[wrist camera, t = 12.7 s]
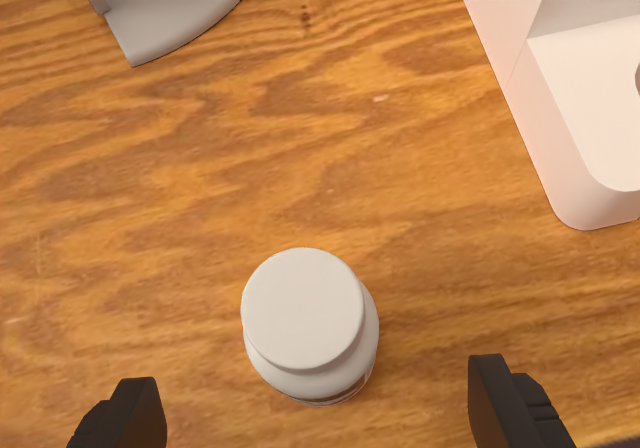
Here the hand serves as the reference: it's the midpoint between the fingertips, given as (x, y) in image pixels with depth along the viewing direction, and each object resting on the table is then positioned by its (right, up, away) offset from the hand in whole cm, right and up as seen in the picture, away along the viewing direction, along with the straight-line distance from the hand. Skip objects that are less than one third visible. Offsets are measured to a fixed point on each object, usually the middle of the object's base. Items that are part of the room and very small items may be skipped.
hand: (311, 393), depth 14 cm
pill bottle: (0, -1, +8) cm, 8 cm away
